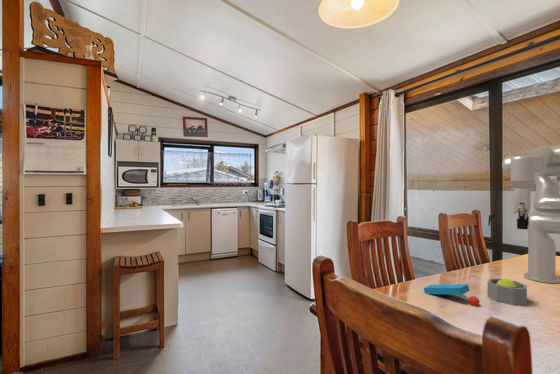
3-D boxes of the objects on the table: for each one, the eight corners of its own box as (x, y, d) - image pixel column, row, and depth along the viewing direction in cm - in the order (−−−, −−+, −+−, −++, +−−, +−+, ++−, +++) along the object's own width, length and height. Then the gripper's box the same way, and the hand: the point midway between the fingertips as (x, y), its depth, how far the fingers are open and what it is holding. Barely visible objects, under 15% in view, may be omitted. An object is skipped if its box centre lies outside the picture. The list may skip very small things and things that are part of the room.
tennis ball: (512, 301, 106) (512, 283, 106) (492, 295, 112) (492, 278, 112) (521, 297, 109) (521, 280, 109) (501, 292, 115) (501, 275, 115)
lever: (428, 305, 116) (476, 308, 102) (423, 287, 117) (470, 288, 103) (436, 301, 120) (484, 303, 106) (431, 284, 121) (478, 284, 107)
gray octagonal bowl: (490, 291, 119) (490, 276, 119) (527, 298, 111) (527, 283, 111) (486, 299, 110) (486, 283, 110) (526, 307, 102) (526, 291, 102)
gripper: (512, 184, 125) (512, 223, 126) (508, 186, 113) (509, 229, 113) (535, 184, 120) (535, 224, 121) (534, 186, 107) (534, 231, 108)
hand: (523, 227), depth 117 cm, fingers open, 9 cm apart
